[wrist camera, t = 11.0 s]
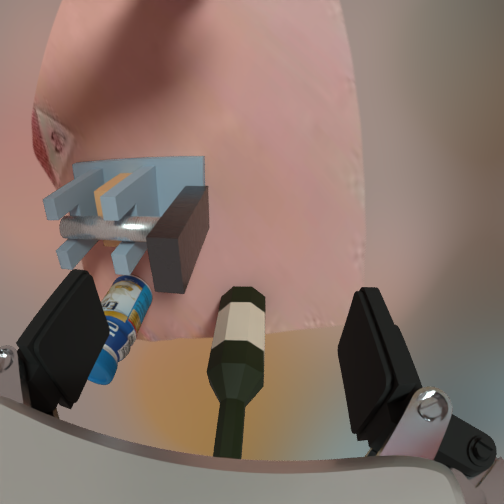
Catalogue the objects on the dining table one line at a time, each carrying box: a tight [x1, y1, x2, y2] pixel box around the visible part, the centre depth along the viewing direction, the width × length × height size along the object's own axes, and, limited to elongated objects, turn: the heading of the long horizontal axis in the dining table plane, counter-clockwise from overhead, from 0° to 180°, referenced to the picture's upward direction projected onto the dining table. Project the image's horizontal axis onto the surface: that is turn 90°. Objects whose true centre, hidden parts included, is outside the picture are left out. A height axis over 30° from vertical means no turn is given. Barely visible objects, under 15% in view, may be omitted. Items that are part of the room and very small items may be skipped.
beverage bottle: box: [88, 275, 152, 385], centre depth 44 cm, size 8×8×20 cm
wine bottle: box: [207, 287, 265, 459], centre depth 40 cm, size 8×8×30 cm
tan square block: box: [94, 173, 132, 247], centre depth 39 cm, size 4×8×8 cm, turn 178°
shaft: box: [60, 186, 209, 294], centre depth 33 cm, size 18×6×14 cm, turn 88°
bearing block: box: [43, 156, 205, 275], centre depth 37 cm, size 22×12×14 cm, turn 88°
